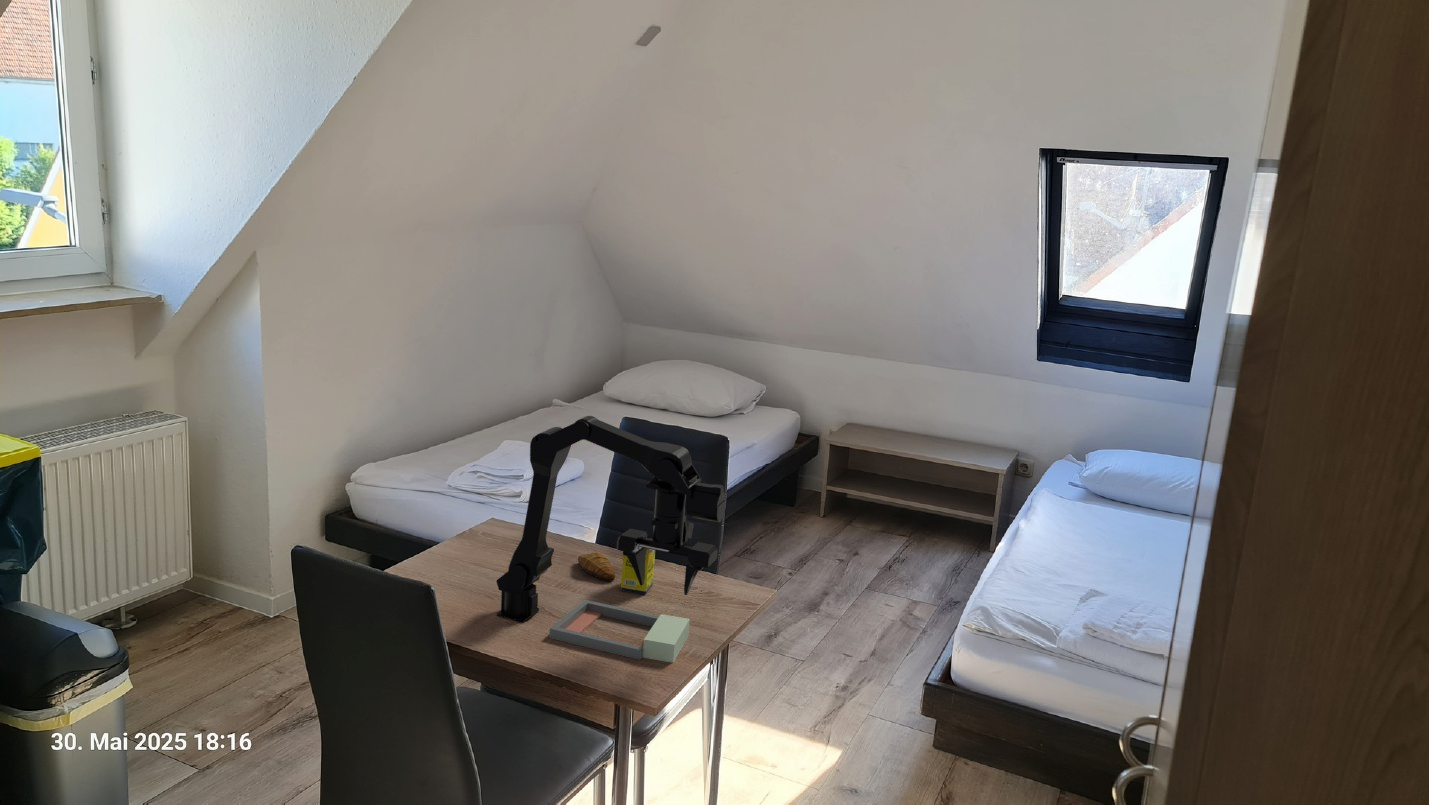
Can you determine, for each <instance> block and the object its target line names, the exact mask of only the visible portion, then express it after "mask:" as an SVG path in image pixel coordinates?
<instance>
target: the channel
mask: <svg viewBox="0 0 1429 805" xmlns="http://www.w3.org/2000/svg"><path fill="white" fill-rule="evenodd" d="M601 616H604V617H608V618H613V619H617V620H619V621H626V622H628V623H629V622H630V623H634V624H638V625H643V626H648V627H651V628H652V627H653V625H654V624H655V622H656V621H657V619H658V618H659V616H660V615H655V614H650V613H646V612H641V611H637V610H633V609H628V608H624V607H621V606H614V605H611V604H607V603H602V602H599V601H592V600H589V599H584V600H583V601H582V602H581V603H579V604H578V605H577V606H576V607H575V608H574V609H572V610H570V612H568V613H567V614H566V615H565V616H563V617H562V618H561V619H560V620H558V621H557V622H555V624H553V625H552V626H551V627H549V634H548V635H549V636H548V637H549V639H551V638H552V640H557V641H560V642H565V643H568V644H573V645H576V646H581V647H585V648H589V649H594V650H598V651H601V652H606V653H610V654H615V655H619V656H623V657H626V658H631V659H635V660H639V661H640V660H642V658H643V646H642V647H641V646H638V645H634V644H630V643H626V642H621V641H616V640H612V639H610V638H609V639H608V638H605V637H599V636H596V635H592V634H587V633H584V631H585V630H586V629H587V628H589V627H590V626H591V625H592V624H593V623H595V621H596V620H598V619H599V618H600V617H601Z"/></svg>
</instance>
